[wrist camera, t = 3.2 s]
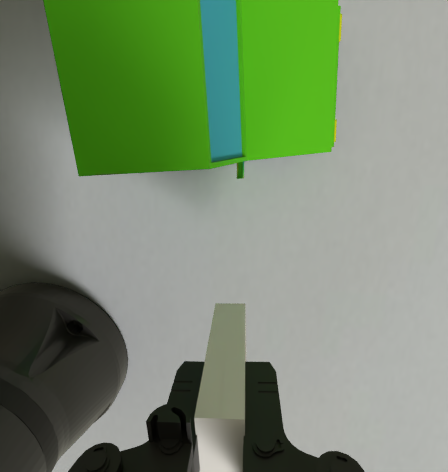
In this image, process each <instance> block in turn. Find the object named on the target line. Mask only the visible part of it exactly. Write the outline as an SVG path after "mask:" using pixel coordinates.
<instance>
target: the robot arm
mask: <svg viewBox="0 0 448 472" xmlns="http://www.w3.org/2000/svg"><path fill="white" fill-rule="evenodd" d="M127 368H128V357H127V351H126V347H125V343H124V341H123V338H122V336H121V334H120V332H119V330H118V329H117V327H116V326H115V324H114V323H113V321H112V320H111V319H110V318H109V317H108V315H107V314H106V313H105V312H104V311H103V310H101V309H100V308H99V307H98V306H97V305H96V304H94V303H93V302H91V301H90V300H89V299H87V298H85V297H84V296H82V295H80V294H78V293H76V292H74V291H72V290H69V289H66V288H63V287H60V286H56V285H52V284H45V283H25V284H19V285H15V286H12V287H9V288H7V289H4V290H2V291H1V292H0V472H52V470H53V468H54V466H55V465H56V463H57V461H58V460H59V458H60V457H61V456H62V455H63V454H64V453H65V452H66V451H67V450H68V449H69V448H70V447H71V446H72V445H73V444H74V443H75V442H76V441H77V440H78V439H79V438H80V437H81V436H82V435H83V434H84V433H85V431H86V430H87V429H88V428H89V427H90V426H91V425H92V424H93V423H94V422H96V421H97V420H98V419H99V418H100V417H101V416H102V415H103V414H105V412H106V411H107V410H108V409H109V408H110V406H111V405H112V403H113V402H114V400H115V398H116V396H117V394H118V392H119V390H120V388H121V386H122V384H123V382H124V380H125V377H126V373H127ZM146 424H147V430H148V437H149V441H147V442H146V443H144V444H143V445H140V446H137V447H135V448H131V449H128V450H124V451H121V452H120V451H119V449H118V447H117V446H115V445H114V444H112V443H101V444H97V445H94V446H93V447H91V448H89V449H88V450H86V451H85V452H84V453H83V454H82V455H81V456H80V457H79V458H78V459H77V461H76V462H75V463H74V465H73V466H72V467H71V469H70V470H69V471H68V472H364V470H363V469H362V467H361V466H360V465H359V464H358V462H357V461H355V460H354V459H353V458H351V457H350V456H349V455H347V454H344V453H341V452H338V451H328V452H326V453H324V454H322V455H321V456H320V457H319V458H317V457H314V456H312V455H309V454H306V453H304V452H302V451H300V450H298V449H297V448H296V447H294V446H293V445H292V444H291V443H290V441H289V440H288V439H287V437H286V435H285V433H284V429H283V422H282V415H281V407H280V399H279V393H278V385H277V376H276V371H275V370H274V368H273V367H272V365H271V364H270V362H246V320H245V304H216V305H215V310H214V315H213V320H212V326H211V331H210V336H209V342H208V347H207V352H206V358H205V362H190V361H185V362H184V363H183V364H182V365H181V366H180V368H179V369H178V370H177V373H176V376H175V379H174V383H173V386H172V389H171V392H170V396H169V399H168V402H167V404H165V405H163V406H161V407H159V408H157V409H156V410H154V411H153V412H152V413H151V414H150V416H149V417H148V419H147V421H146Z"/></svg>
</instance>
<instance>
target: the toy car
mask: <svg viewBox="0 0 448 472" xmlns="http://www.w3.org/2000/svg"><path fill="white" fill-rule="evenodd" d="M43 2H44V7H45V12H46V17H47V21H48V26H49V31H50V36H51V41H52V46H53V51H54V56H55V61H56V66H57V71H58V76H59V81H60V86H61V91H62V95H63V100H64V105H65V110H66V115H67V120H68V125H69V130H70V135H71V140H72V145H73V150H74V155H75V160H76V165H77V169H78V174H79V176H92V175H110V174H128V173H145V172H163V171H181V170H199V169H212V168H216V167H220V166H225V165H229V164H234V163H237V179H240V178H244V161H248V160H257V159H267V158H276V157H286V156H295V155H304V154H314V153H323V152H331V147H334V142H336V122H337V119H336V120H335V110H336V90H337V69H338V49H339V42H340V41H341V23H342V14H340V8H341V6H338V0H43Z"/></svg>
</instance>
